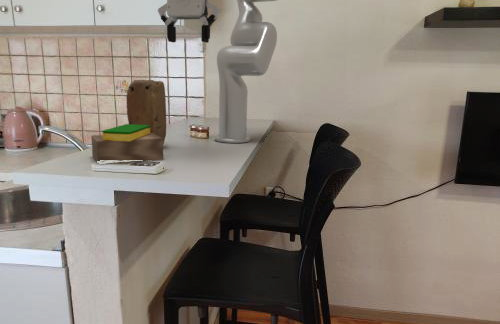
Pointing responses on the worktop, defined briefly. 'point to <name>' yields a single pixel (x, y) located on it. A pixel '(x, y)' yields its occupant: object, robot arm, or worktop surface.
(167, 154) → the worktop surface
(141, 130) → the dish sponge
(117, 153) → the walnut block
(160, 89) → the block
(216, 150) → the worktop surface
